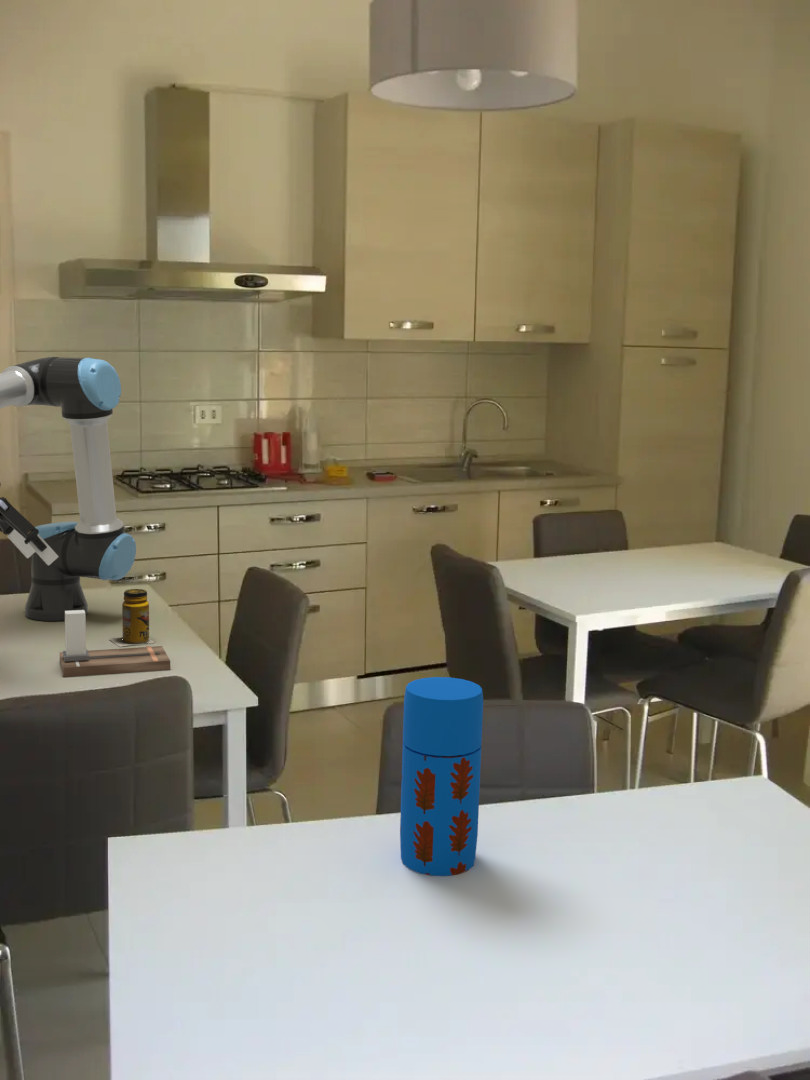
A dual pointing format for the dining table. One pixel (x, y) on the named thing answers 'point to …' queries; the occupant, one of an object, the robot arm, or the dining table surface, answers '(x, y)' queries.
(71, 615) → the fader tab
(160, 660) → the fader track
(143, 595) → the condiment
